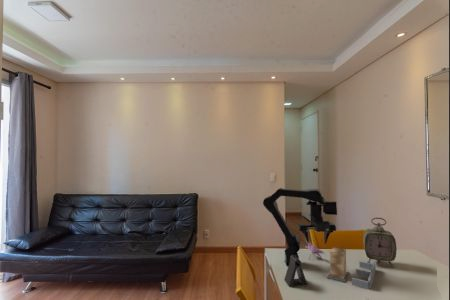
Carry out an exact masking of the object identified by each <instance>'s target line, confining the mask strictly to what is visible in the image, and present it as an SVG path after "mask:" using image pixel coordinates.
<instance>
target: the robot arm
mask: <svg viewBox="0 0 450 300" xmlns="http://www.w3.org/2000/svg"><path fill="white" fill-rule="evenodd" d="M322 194H323V193H322V192H321V190H320V189H319V188H310V189H304V190H303V189H293V188H292V189H291V188H282V187H279V188H278V189H277V190H275V192H274V193H273V194H271V195H269V196H266V197H265V198H264V199H263V201H262V204H263V207H264V208H265V209H266V210H267V211H268V212H269V213H270V214H271V215H272V217H273V218H274V220H275V221H276V223H277V225H278V227H279V228H280V230H281V231H282V232H281V233H283V235H284V237H285V242H286V244H287V246H286V247H285V250H284V260H283V261H284V264H285V265H286V267H288V266H289V263H290V256H291V255H293V256H294V255H295V256H296V257H297V258H298V259H299V260H300V257H299V253H298V252H299V251H300V249H301V246H302V239H301V238H300V237H299V234H298V233H296V234H295V233H293V231H292V230H291V228H290V226H289V225H288V223H287V221H286V220H285V218H284V216H283V214H282V213H281V212H280V209H279V206H278V202H277V200H278V199H279V198H280V197H288V198H289V197H291V198H300V199H306V200H308V201H307V202H306V205H307V206H309V209H310V211H309V218H310V221H309V224H306V223H305V222H298V223H297V224H296V229H297V230H298V231H299V232H301V233H302V234H303V236H304V239H305V240H306V241H305V242H306V244H307V243H308V242H309V231H308V230H312V229H313V230H314V229H315V231H316V232H317V233H320V232H323V242H324V244H327V241H328V240H329V239H328V238H329V236H330V234H332V233H334V231H335V232H336V231H337V227H336V225H335V223H332V222H330V221H328V220H327V221H326V220H324V217H323V213H324V214H325V215H329V216H331V215H332V216H337V215H338V206H337V201H334V200H333V201H329V200H328V201H327V200H326V199H325V198H324V196H323V195H322ZM295 256H294V258H295Z"/></svg>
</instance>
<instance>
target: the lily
mask: <svg viewBox="0 0 450 300" xmlns="http://www.w3.org/2000/svg"><path fill="white" fill-rule="evenodd" d="M305 242H306V239H305ZM306 244H307V245H305V246H304V248H305V249H308V250H309V252H310V255H309V258H308V260H310V259H311V256H312V255H316V256H318V257H319V258H320V259H322V255H323V254H326V253H325V252H324V251H323V250H321V249H319V248H317V246H316V245H315V244H312V243H311V242H309V241H308V243H307V242H306ZM321 254H322V255H321Z"/></svg>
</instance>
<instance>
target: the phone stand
mask: <svg viewBox="0 0 450 300" xmlns="http://www.w3.org/2000/svg"><path fill="white" fill-rule="evenodd" d="M294 256H295V255H294ZM294 256H293V255H291V256H290V263H289V266H287V270H286V273H285V276H284V282H285V283H286V285H287V286H288V287H289V288H291V287H292V288H293V287H302V286H308V285H309V284H308V281H307V279H306V276H305V274H304V271H303V268H302V261H301V259H300V258H299V259H298V258H297V257H296V256H295V258H294ZM296 274H297V278H295V276H296Z"/></svg>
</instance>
